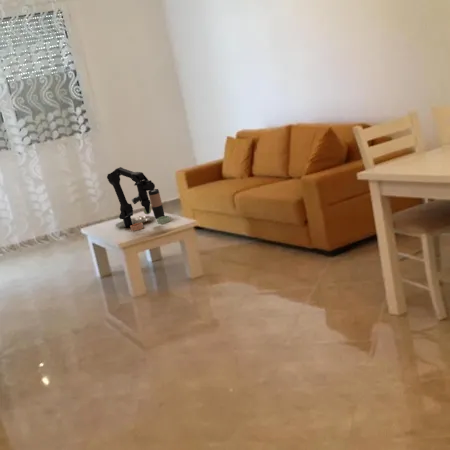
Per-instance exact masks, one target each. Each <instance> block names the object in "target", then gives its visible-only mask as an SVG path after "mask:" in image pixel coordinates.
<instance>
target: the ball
mask: <svg viewBox="0 0 450 450" xmlns="http://www.w3.org/2000/svg"><path fill="white" fill-rule="evenodd" d="M143 208H144V209H143V213H144V214H145V215H150V214H151V213H152V209H151V208H150V209H149V213H148V214H147V212H146V210H145V207H143Z"/></svg>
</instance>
